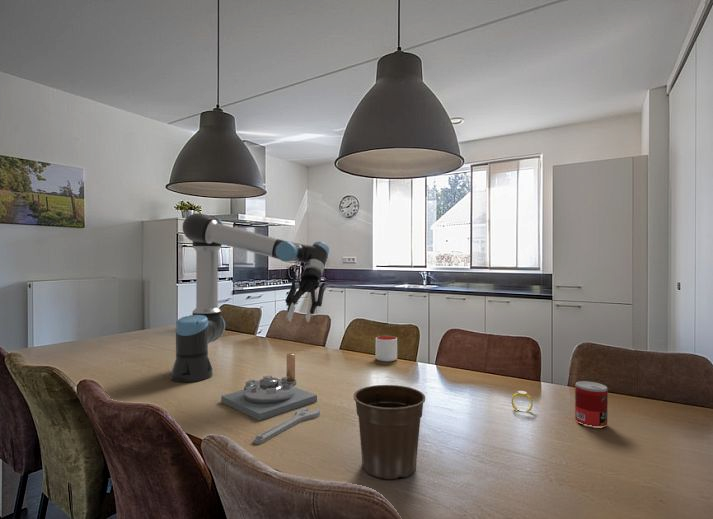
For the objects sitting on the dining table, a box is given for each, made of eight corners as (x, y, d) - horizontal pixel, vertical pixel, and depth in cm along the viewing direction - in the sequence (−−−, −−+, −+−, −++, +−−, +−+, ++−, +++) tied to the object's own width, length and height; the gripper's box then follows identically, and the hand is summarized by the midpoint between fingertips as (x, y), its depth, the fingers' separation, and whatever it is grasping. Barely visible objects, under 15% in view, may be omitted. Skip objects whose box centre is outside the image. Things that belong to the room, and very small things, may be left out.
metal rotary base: (244, 406, 123) (244, 363, 123) (243, 390, 139) (243, 351, 139) (300, 401, 128) (300, 359, 128) (292, 385, 144) (292, 348, 143)
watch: (531, 411, 126) (533, 392, 126) (531, 415, 123) (533, 395, 123) (511, 407, 128) (512, 388, 128) (510, 410, 126) (512, 391, 126)
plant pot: (364, 445, 103) (364, 381, 103) (429, 454, 98) (429, 387, 98) (343, 478, 87) (344, 403, 87) (419, 491, 83) (419, 412, 82)
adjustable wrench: (258, 447, 103) (258, 440, 103) (242, 440, 106) (242, 433, 106) (323, 415, 123) (323, 409, 123) (307, 410, 127) (307, 404, 127)
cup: (400, 358, 190) (401, 337, 190) (390, 363, 181) (391, 340, 181) (382, 355, 195) (382, 334, 195) (371, 360, 187) (371, 338, 187)
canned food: (607, 431, 111) (607, 391, 111) (574, 425, 115) (574, 386, 115) (607, 422, 117) (607, 383, 117) (576, 416, 122) (576, 379, 122)
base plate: (221, 401, 133) (221, 395, 133) (277, 386, 149) (277, 380, 149) (259, 420, 118) (259, 413, 118) (317, 401, 134) (317, 395, 134)
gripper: (337, 279, 164) (325, 326, 149) (292, 279, 169) (276, 324, 153) (334, 266, 159) (321, 314, 143) (287, 266, 164) (269, 312, 148)
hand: (297, 319), depth 148 cm, fingers open, 6 cm apart
